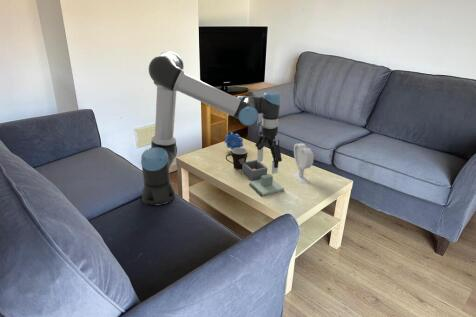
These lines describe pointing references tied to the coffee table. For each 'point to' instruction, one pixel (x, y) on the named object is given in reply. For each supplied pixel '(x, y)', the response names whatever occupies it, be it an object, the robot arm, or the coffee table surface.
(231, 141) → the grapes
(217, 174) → the coffee table surface
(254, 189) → the mat
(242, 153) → the coffee mug
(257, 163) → the grey open box
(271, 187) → the lid
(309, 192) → the coffee table surface
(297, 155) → the heart sculpture
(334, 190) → the coffee table surface
